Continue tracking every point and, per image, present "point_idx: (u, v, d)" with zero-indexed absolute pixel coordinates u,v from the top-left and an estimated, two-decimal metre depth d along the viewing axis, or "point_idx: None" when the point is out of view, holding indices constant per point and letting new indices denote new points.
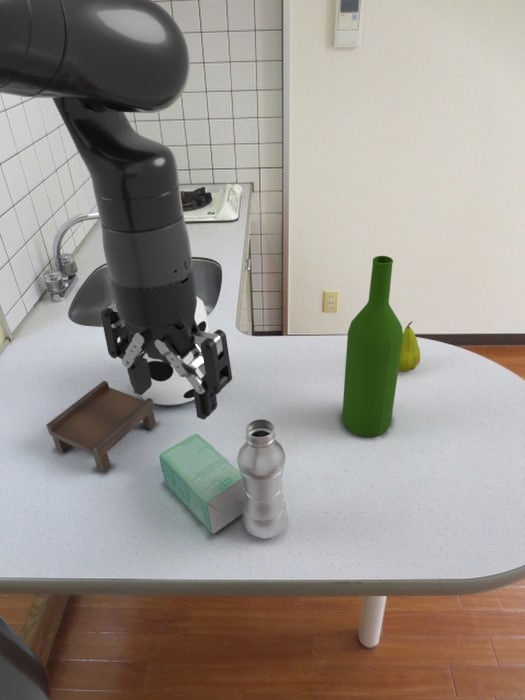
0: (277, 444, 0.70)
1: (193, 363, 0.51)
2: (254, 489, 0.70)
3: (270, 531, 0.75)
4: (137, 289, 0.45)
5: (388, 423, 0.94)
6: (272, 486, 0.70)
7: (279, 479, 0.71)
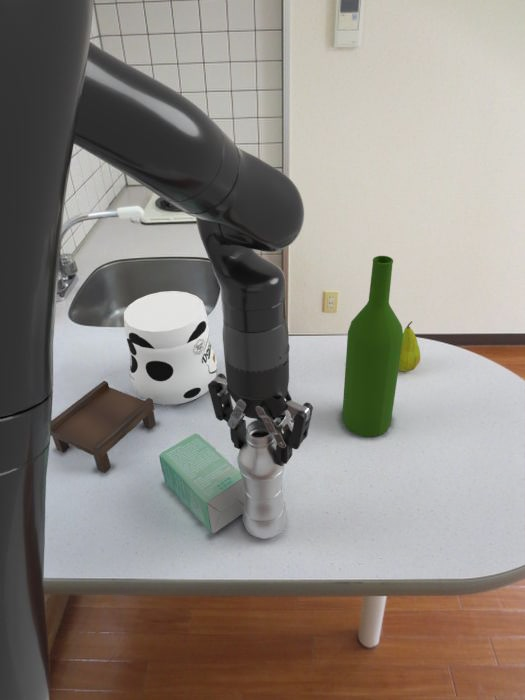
0: None
1: (280, 424, 0.65)
2: (254, 489, 0.70)
3: (270, 531, 0.75)
4: (251, 372, 0.58)
5: (388, 423, 0.94)
6: (272, 486, 0.70)
7: (279, 479, 0.71)
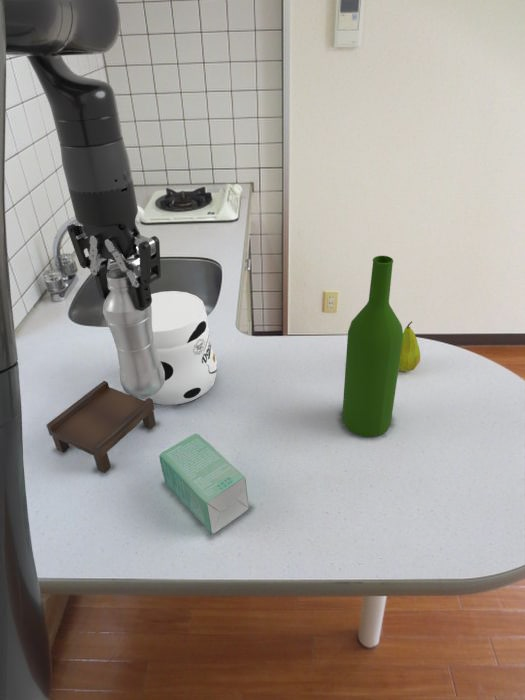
0: None
1: (133, 262, 0.66)
2: (119, 338, 0.72)
3: (143, 387, 0.77)
4: (87, 193, 0.60)
5: (388, 423, 0.94)
6: (137, 335, 0.72)
7: (144, 329, 0.72)
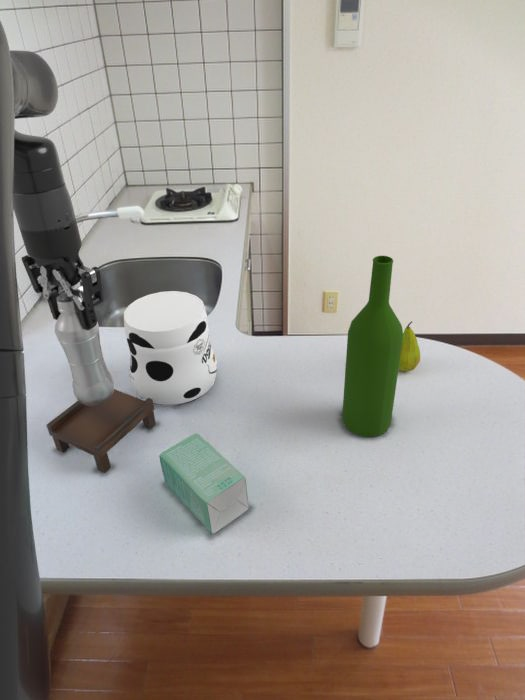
0: None
1: (78, 289, 0.76)
2: (69, 353, 0.82)
3: (93, 397, 0.87)
4: (34, 232, 0.70)
5: (388, 423, 0.94)
6: (85, 351, 0.82)
7: (92, 345, 0.82)
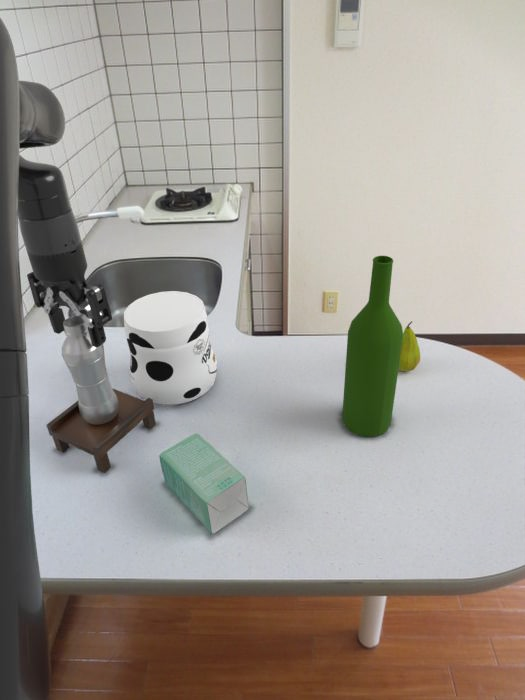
0: None
1: (85, 307, 0.78)
2: (76, 375, 0.85)
3: (98, 416, 0.89)
4: (41, 256, 0.72)
5: (388, 423, 0.94)
6: (91, 373, 0.84)
7: (97, 367, 0.85)
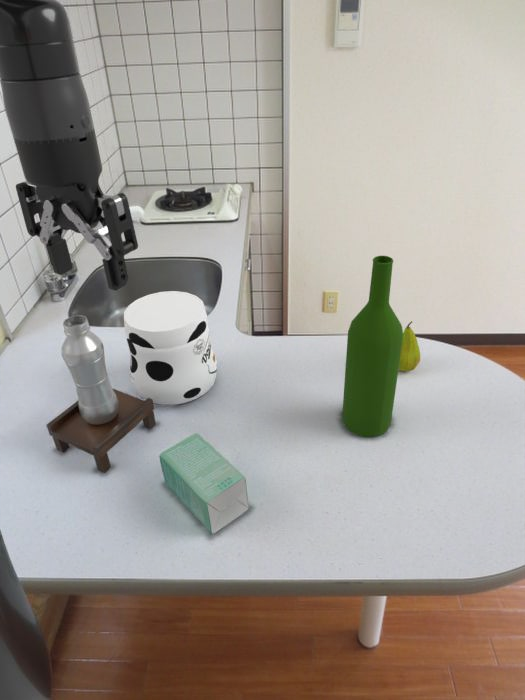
0: (93, 337, 0.84)
1: (100, 230, 0.54)
2: (76, 375, 0.85)
3: (98, 416, 0.89)
4: (35, 142, 0.48)
5: (388, 423, 0.94)
6: (91, 373, 0.84)
7: (97, 367, 0.85)
